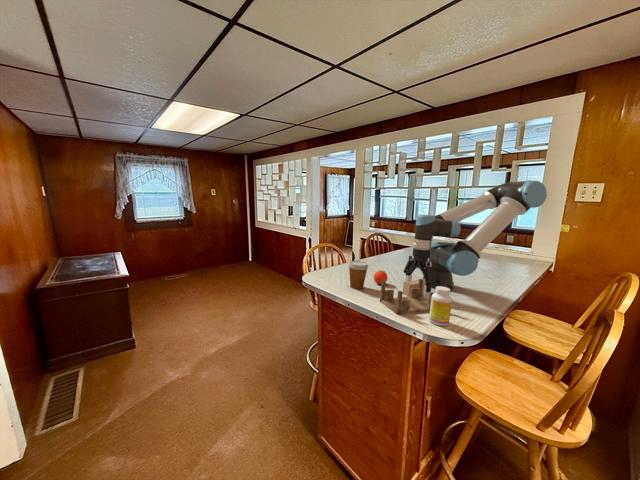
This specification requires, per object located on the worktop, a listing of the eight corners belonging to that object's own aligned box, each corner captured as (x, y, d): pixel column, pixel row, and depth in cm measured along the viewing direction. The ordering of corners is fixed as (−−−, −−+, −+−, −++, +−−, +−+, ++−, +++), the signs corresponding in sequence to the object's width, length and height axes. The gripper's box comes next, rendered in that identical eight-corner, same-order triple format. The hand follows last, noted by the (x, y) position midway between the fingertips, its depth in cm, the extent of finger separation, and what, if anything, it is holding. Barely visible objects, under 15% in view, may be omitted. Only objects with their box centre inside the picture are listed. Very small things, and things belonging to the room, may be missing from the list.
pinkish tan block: (424, 290, 128) (425, 279, 127) (430, 293, 124) (432, 281, 123) (402, 294, 122) (403, 281, 121) (408, 297, 118) (410, 284, 117)
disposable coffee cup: (367, 285, 131) (369, 262, 129) (365, 291, 122) (367, 266, 120) (348, 282, 133) (350, 259, 131) (345, 288, 124) (347, 264, 122)
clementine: (377, 280, 140) (379, 267, 139) (390, 283, 136) (391, 270, 135) (370, 283, 134) (371, 270, 133) (383, 287, 130) (384, 273, 129)
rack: (419, 298, 117) (421, 278, 116) (440, 310, 105) (443, 289, 103) (379, 301, 111) (381, 281, 109) (397, 314, 99) (399, 292, 97)
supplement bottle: (451, 328, 90) (456, 292, 88) (431, 325, 92) (435, 290, 89) (445, 319, 97) (450, 286, 95) (426, 317, 98) (430, 284, 96)
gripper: (399, 243, 130) (394, 284, 133) (434, 254, 107) (427, 304, 110) (411, 243, 132) (407, 284, 136) (448, 254, 109) (442, 302, 113)
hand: (416, 293), depth 123 cm, fingers open, 12 cm apart
